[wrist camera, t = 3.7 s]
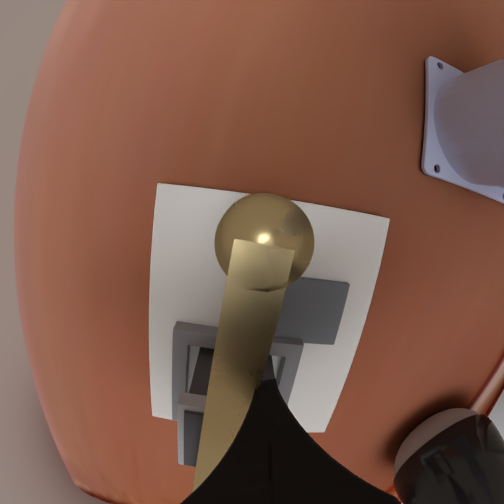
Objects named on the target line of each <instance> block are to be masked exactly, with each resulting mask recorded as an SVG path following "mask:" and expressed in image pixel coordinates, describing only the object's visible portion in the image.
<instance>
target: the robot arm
mask: <svg viewBox="0 0 504 504" xmlns="http://www.w3.org/2000/svg"><path fill="white" fill-rule="evenodd" d="M437 64H438V65H439V67H440V68H439V67H438V65H437ZM425 66H426V104H425V126H424V141H423V152H422V162H421V168H422V171H423V172H424V174H426V175H429V176H432V177H435V178H438V179H441V180H443V181H446V182H449V183H452V184H455V185H457V186H460V187H463V188H465V189H468V190H471V191H473V192H476V193H478V194H481V195H483V196H486V197H488V198H490V199H493V200H495V201H497V202H500V203H502V204H504V58H503V59H500V60H498V61H495V62H492V63H490V64H487V65H484V66H482V67H479V68H477V69H474V70H471V71H469V72H466V73H463V72H461V71H460V70H458V69H456V68H454V67H452V66H451V65H449V64H447V63H445V62H443V61H441V60H439V59H437V58H435V57H433V56H429V57H428V58H426V61H425ZM434 166H436V167H437V171H436V172H435V171H434ZM181 504H401V503H400V502H399V501H398V500H397V499H396V497H394V496H392V495H390V494H388V493H386V492H384V491H382V490H380V489H378V488H376V487H374V486H373V485H371V484H369V483H367V482H366V481H364V480H362V479H361V478H359V477H358V476H356V475H354V474H353V473H352V472H350V471H349V470H348V469H346V468H345V467H344V466H342V465H341V464H340V463H338V462H337V461H336V460H334V459H333V458H332V457H331V456H330V455H329V454H328V453H326V452H325V451H324V450H323V449H322V448H321V447H320V446H319V445H318V444H317V443H316V442H315V441H314V440H313V439H312V438H311V437H310V436H309V434H308V433H307V432H306V431H305V430H304V428H303V427H302V426H301V425H300V424H299V422H298V421H297V420H296V418H295V417H294V415H293V414H292V412H291V411H290V409H289V408H288V406H287V405H286V403H285V401H284V399H283V398H282V396H281V394H280V391H279V389H278V386H277V382H276V378H275V379H269V380H263V381H261V385H260V388H259V389H255V392H254V395H253V398H252V401H251V404H250V407H249V409H248V412H247V414H246V416H245V419H244V421H243V423H242V425H241V427H240V429H239V431H238V433H237V435H236V437H235V439H234V440H233V442H232V444H231V446H230V447H229V449H228V450H227V452H226V453H225V455H224V456H223V458H222V459H221V461H220V462H219V463H218V465H217V466H216V467H215V468H214V470H213V471H212V472H211V473H210V475H209V476H208V477H207V478H206V479H205V480H204V481H203V483H202V484H201V485H200V486H199V487H198V488H197V489H196V490H195V491H194V492H193V493H191V494H190V495H189V496H188V497H187V498H186V499H185V500H184V501H183V502H182V503H181Z"/></svg>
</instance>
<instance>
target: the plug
mask: <svg viewBox="0 0 504 504" xmlns="http://www.w3.org/2000/svg"><path fill="white" fill-rule="evenodd" d="M213 355H214V349H211V348H204V347H200V350H199V354H198V358H197V362H196V366H195V370H194V374H193V378H192V382H191V386H190V390H189V393H185V392H181V393H180V396H179V400H178V403H177V421H178V464H182V465H188V466H194V467H196V463H197V456H198V450H199V443H200V436H201V430H202V423H203V417H204V410H205V404H206V398H207V391H208V385H209V379H210V373H211V367H212V361H213ZM269 379H275V375H274V368H273V361H272V355H269V356H268V360H267V363H266V367H265V371H264V374H263V378H262V381H263V380H269ZM286 405H287V406H288V404H287V403H286Z"/></svg>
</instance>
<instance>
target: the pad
mask: <svg viewBox="0 0 504 504" xmlns="http://www.w3.org/2000/svg"><path fill="white" fill-rule="evenodd" d="M349 287H350V284H349V283H348V282H342V281H333V280H325V279H317V278H309V277H299V278H298V279H297V280H296V281H295V282H293V283H292V284H290V285H289V286H287V287H286V290H285V294H284V298H283V302H282V306H281V310H280V314H279V318H278V322H277V326H276V330H275V334H274V337H277V338H288V339H300V340H302V341H303V343H310V344H326V345H334V343H335V339H336V336H337V332H338V329H339V325H340V322H341V318H342V314H343V311H344V307H345V303H346V299H347V295H348V291H349Z"/></svg>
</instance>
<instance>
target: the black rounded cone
mask: <svg viewBox="0 0 504 504" xmlns="http://www.w3.org/2000/svg"><path fill="white" fill-rule="evenodd" d="M394 474H395V477H394V481H393V485H394V488H395V490H396V492H397V494H398V496H399V498H400V500H401V501H402V503H403V504H504V440H503V438H502V436H501V435H500V433H499V431H498V430H497V428H496V426H495V425H494V423H493V422H492V421H491V420H490V419H489V418H488V417H487V416H486V415H483V414H478V413H476V412H474V411H472V410H469V409H465V408H453V409H448V410H444V411H442V412H439V413H437V414H435V415H433V416H431V417H429V418H428V419H426V420H425V421H423V422H422V423H421V424H419V425H418V426H417V427H416V428H415V429H414V430H413V431H412V432H411V433H410V434H409V435H408V436H407V437H406V439H405V440H404V441H403V443H402V445H401V446H400V448H399V450H398V453H397V455H396V459H395V464H394Z"/></svg>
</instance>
